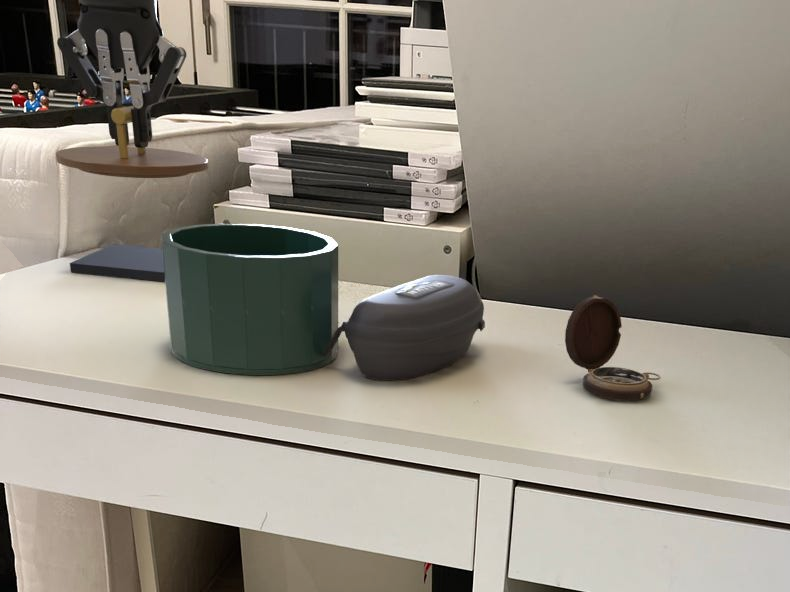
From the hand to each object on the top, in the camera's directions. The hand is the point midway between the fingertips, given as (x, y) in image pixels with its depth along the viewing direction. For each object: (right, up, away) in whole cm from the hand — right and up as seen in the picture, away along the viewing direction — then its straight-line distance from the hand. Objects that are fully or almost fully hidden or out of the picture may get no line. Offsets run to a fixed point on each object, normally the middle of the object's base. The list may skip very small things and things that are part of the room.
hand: (132, 145), depth 106 cm
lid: (0, -1, +1) cm, 2 cm away
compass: (+50, -31, -19) cm, 62 cm away
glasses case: (+32, -28, -16) cm, 45 cm away
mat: (-1, -11, +7) cm, 13 cm away
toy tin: (+18, -28, -18) cm, 37 cm away
